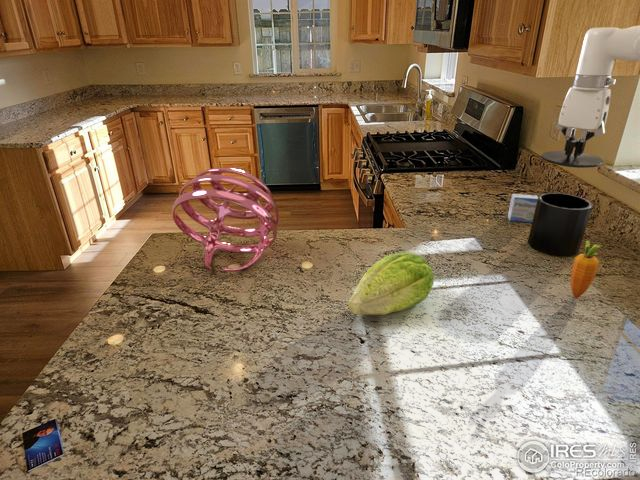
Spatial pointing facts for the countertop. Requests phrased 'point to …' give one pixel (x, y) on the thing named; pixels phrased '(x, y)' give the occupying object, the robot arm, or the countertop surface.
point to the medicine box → (522, 208)
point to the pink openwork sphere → (228, 213)
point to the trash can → (559, 224)
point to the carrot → (584, 270)
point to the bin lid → (572, 158)
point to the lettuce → (392, 285)
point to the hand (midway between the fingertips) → (572, 154)
